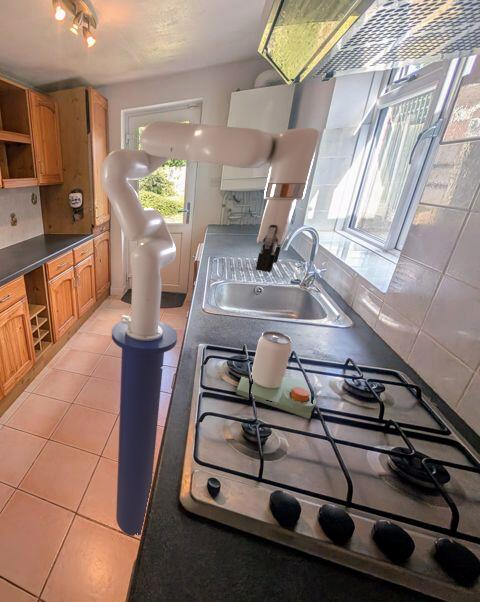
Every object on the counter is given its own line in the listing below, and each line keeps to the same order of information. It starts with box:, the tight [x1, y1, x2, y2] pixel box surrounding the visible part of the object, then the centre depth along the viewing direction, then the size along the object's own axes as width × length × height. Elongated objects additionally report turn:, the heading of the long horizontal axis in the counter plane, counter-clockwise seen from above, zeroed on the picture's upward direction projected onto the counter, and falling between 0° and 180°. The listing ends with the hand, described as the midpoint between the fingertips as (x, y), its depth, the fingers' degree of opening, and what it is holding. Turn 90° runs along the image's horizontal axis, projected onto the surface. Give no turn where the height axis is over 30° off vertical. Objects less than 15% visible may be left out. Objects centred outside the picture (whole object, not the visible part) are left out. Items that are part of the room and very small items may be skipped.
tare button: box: [291, 387, 309, 402], centre depth 64 cm, size 3×3×2 cm
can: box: [251, 330, 293, 389], centre depth 70 cm, size 6×6×12 cm
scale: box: [235, 375, 317, 420], centre depth 70 cm, size 14×12×3 cm
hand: (266, 266), depth 74 cm, fingers open, 9 cm apart
